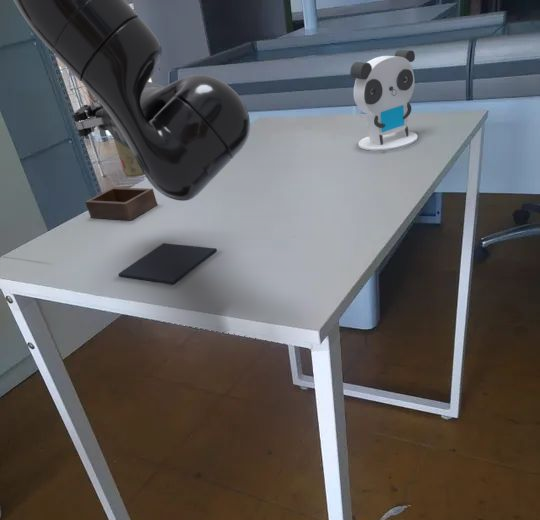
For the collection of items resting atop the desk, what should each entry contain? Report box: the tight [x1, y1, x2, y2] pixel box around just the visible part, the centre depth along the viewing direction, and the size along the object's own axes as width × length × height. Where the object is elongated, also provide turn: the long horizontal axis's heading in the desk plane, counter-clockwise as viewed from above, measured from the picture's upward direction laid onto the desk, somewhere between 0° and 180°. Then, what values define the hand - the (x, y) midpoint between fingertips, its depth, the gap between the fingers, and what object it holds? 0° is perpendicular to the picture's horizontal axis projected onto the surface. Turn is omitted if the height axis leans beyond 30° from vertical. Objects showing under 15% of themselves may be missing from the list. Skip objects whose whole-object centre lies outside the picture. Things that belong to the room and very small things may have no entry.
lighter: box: [112, 136, 145, 178], centre depth 74 cm, size 7×4×10 cm, turn 21°
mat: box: [117, 242, 217, 285], centre depth 77 cm, size 10×10×1 cm
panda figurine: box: [350, 49, 419, 152], centre depth 103 cm, size 12×11×15 cm
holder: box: [84, 186, 158, 221], centre depth 98 cm, size 7×10×3 cm
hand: (113, 104), depth 74 cm, fingers closed on lighter, 3 cm apart
